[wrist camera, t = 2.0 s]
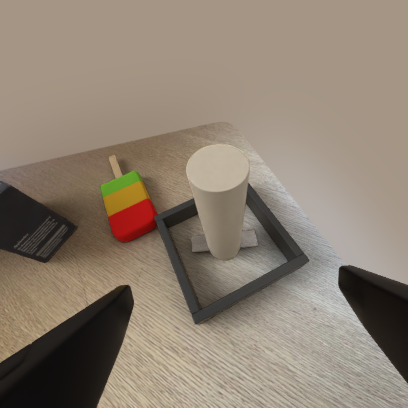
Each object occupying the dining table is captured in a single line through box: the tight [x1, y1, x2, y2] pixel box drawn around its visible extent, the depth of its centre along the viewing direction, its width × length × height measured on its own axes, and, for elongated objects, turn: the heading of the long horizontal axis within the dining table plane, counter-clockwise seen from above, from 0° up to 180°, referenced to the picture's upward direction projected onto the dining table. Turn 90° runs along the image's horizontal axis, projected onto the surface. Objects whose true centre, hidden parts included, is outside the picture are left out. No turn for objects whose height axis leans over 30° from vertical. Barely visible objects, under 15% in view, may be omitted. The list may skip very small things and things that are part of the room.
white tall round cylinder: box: [186, 144, 258, 260], centre depth 17 cm, size 7×4×13 cm, turn 93°
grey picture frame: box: [154, 183, 309, 324], centre depth 21 cm, size 12×12×2 cm
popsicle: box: [100, 155, 157, 242], centre depth 27 cm, size 6×15×2 cm, turn 27°
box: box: [0, 180, 77, 263], centre depth 22 cm, size 9×6×10 cm, turn 63°
